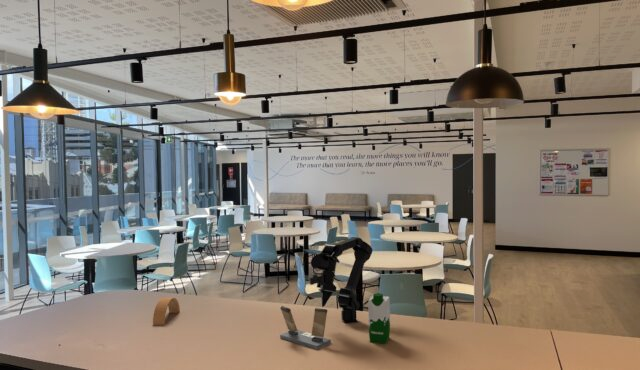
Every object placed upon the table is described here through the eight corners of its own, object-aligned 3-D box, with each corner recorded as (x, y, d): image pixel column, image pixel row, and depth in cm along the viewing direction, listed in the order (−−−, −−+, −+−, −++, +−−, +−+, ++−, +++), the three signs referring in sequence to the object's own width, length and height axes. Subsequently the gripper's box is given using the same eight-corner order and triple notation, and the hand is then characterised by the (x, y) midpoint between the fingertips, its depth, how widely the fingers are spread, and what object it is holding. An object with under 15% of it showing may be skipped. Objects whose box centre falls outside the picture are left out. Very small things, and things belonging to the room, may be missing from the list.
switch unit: (294, 332, 201) (294, 326, 201) (330, 343, 188) (330, 337, 187) (280, 338, 194) (280, 332, 194) (317, 349, 181) (316, 343, 181)
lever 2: (313, 335, 189) (316, 308, 192) (323, 337, 186) (327, 309, 189) (311, 335, 187) (314, 307, 190) (322, 337, 185) (325, 309, 188)
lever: (290, 327, 198) (283, 305, 195) (297, 330, 193) (289, 307, 191) (287, 329, 196) (279, 307, 194) (294, 332, 192) (286, 310, 190)
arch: (180, 312, 235) (179, 293, 234) (164, 325, 215) (163, 304, 214) (169, 312, 235) (169, 293, 235) (152, 325, 215) (151, 304, 215)
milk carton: (367, 342, 187) (366, 295, 187) (371, 335, 196) (371, 289, 195) (388, 344, 184) (387, 296, 184) (391, 337, 193) (391, 291, 192)
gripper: (309, 267, 212) (303, 301, 209) (314, 268, 194) (308, 305, 191) (331, 271, 213) (326, 305, 210) (339, 272, 195) (333, 309, 192)
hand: (323, 305), depth 201 cm, fingers closed
